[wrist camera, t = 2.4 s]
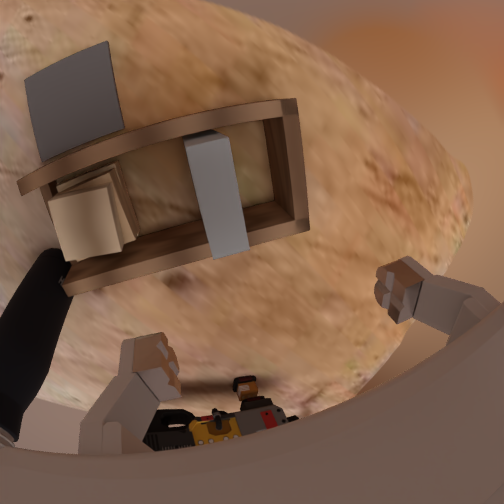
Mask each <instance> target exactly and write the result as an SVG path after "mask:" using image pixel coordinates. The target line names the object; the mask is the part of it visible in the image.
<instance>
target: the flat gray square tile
mask: <svg viewBox="0 0 504 504" xmlns="http://www.w3.org/2000/svg"><path fill="white" fill-rule="evenodd" d="M24 81H25V88H26V94H27V100H28V106H29V111H30V116H31V121H32V126H33V130H34V135H35V139H36V143H37V147H38V150H39V154H40V158H41V161H42V162H44V161H46V160H48V159H50V158H52V157H54V156H56V155H58V154H61V153H63V152H65V151H67V150H70V149H72V148H74V147H76V146H79V145H81V144H84V143H86V142H89V141H91V140H94V139H96V138H99V137H102V136H104V135H107V134H110V133H113V132H115V131H118V130H121V129H124V128H125V126H124V122H123V118H122V113H121V109H120V104H119V99H118V94H117V89H116V84H115V79H114V74H113V68H112V62H111V56H110V49H109V43H108V41H105V42H102V43H99V44H97V45H94V46H92V47H89V48H87V49H84V50H82V51H80V52H77V53H75V54H73V55H71V56H68V57H66V58H64V59H62V60H60V61H58V62H56V63H54V64H52V65H50V66H48V67H46V68H44V69H42V70H41V71H39V72H37V73H35V74H33V75H32V76H30V77H28V78H27V79H25V80H24Z"/></svg>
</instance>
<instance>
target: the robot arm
mask: <svg viewBox="0 0 504 504" xmlns="http://www.w3.org/2000/svg"><path fill="white" fill-rule="evenodd" d="M376 277H377V278H378V281H377V282H376V284H375V287H374V294H375V298H376V300H377V302H378V304H379V305H380V306H381V307H383V308H386V309H388V315H389V316H390V317H391V318H392V319H393V320H394V322H395V323H396V324H399V323H401V322H403V321H406V320H408V319H410V318H412V317H413V318H414V319H416V320H418V321H421V322H423V323H425V324H427V325H429V326H431V327H433V328H436V329H437V330H440V331H442V332H444V333H446V334H448V335H450V336H449V338H448V340H447V342H446V346H445V347H444V348H442V349H441V350H439V351H438V352H436V353H435V354H433V355H432V356H430V357H428V358H427V359H425V360H423V361H422V362H420V363H418V364H417V365H415V366H414V367H412V368H410V369H408V370H407V371H405V372H403V373H401V374H399V375H397V376H396V377H394V378H392V379H390V380H388V381H386V382H384V383H382V384H380V385H378V386H376V387H374V388H372V389H370V390H368V391H366V392H364V393H362V394H360V395H358V396H355V397H353V398H351V399H349V400H347V401H344V402H342V403H340V404H337V405H335V406H332V407H330V408H327V409H325V410H322V411H320V412H317V413H315V414H312V415H309V416H307V417H304V418H301V419H298V420H295V421H292V422H289V423H286V424H283V425H280V426H277V427H274V428H270V429H267V430H264V431H260V432H256V433H253V434H249V435H245V436H241V437H237V438H233V439H229V440H224V441H219V442H215V443H210V444H204V445H199V446H193V447H187V448H180V449H173V450H165V451H156V452H155V451H153V450H152V449H151V448H150V447H148V446H147V445H146V444H144V443H143V442H142V440H143V438H144V436H145V434H146V432H147V430H148V427H149V425H150V423H151V421H152V419H153V417H154V415H155V413H156V410H157V408H158V406H159V404H160V402H161V401H166V400H171V399H175V398H180V397H182V394H181V384H180V381H179V379H178V377H177V375H178V373H179V365H178V361H177V357H176V355H175V352H174V350H173V348H172V347H170V346H168V339H167V337H166V336H165V334H164V333H163V332H160V333H155V334H150V335H145V336H140V337H136V338H131V339H126V340H124V341H123V342H122V346H121V354H120V363H119V373H118V376H115V377H114V378H113V379H112V381H111V382H110V383H109V385H108V386H107V387H106V389H105V390H104V391H103V393H102V394H101V395H100V397H99V398H98V399H97V401H96V402H95V404H94V405H93V406H92V408H91V409H90V410H89V412H88V413H87V415H86V416H85V417H84V419H83V420H82V422H81V424H80V434H79V448H78V454H65V453H53V452H43V451H35V450H27V449H22V448H16V447H10V446H5V447H2V448H1V449H0V504H504V302H503V303H500V302H498V301H497V300H496V299H495V298H494V297H493V296H492V295H491V294H489V293H488V292H487V291H486V290H485V289H484V288H482V287H478V286H475V285H471V284H468V283H465V282H461V281H458V280H454V279H451V278H447V277H443V276H440V275H433V274H431V273H430V272H429V271H428V270H427V269H425V268H424V267H423V266H422V265H420V264H419V263H418V262H417V261H415V260H414V259H413V258H412V257H409V256H406V257H403V258H401V259H398V260H396V261H394V262H391V263H388V264H386V265H383V266H381V267H378V269H377V271H376Z"/></svg>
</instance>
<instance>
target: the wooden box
mask: <svg viewBox="0 0 504 504" xmlns="http://www.w3.org/2000/svg"><path fill="white" fill-rule="evenodd" d="M262 119H263V123H264V130H265V136H266V143H267V149H268V156H269V163H270V170H271V177H272V184H273V191H274V199H275V201H272V202H268V203H264V204H260V205H256V206H252V207H248V208H244V209H242V211H243V216H244V221H245V227H246V232H247V237H248V243H249V247H250V246H254V245H257V244H261V243H265V242H269V241H272V240H276V239H280V238H283V237H287V236H291V235H294V234H298V233H302V232H306V231H309V230H310V224H309V210H308V198H307V186H306V175H305V165H304V156H303V147H302V138H301V130H300V122H299V114H298V107H297V100H296V98H291V99H276V100H267V101H260V102H253V103H246V104H240V105H234V106H229V107H223V108H218V109H213V110H208V111H204V112H199V113H195V114H190V115H186V116H182V117H178V118H174V119H170V120H167V121H163V122H159V123H156V124H152V125H149V126H146V127H142V128H139V129H136V130H133V131H130V132H127V133H124V134H121V135H118V136H115V137H112V138H109V139H107V140H104V141H101V142H99V143H96V144H93V145H91V146H88V147H86V148H83V149H81V150H79V151H76V152H74V153H71V154H69V155H67V156H65V157H62V158H60V159H58V160H56V161H54V162H51V163H49V164H47V165H45V166H43V167H41V168H39V169H37V170H36V171H34V172H32V173H30V174H28V175H27V176H25V177H23V178H21V179H20V180H18V181H17V184H18V187H19V190H20V193H21V196H23V195H25V194H27V193H29V192H31V191H33V190H35V189H37V188H39V187H40V190H41V193H42V196H43V199H44V202H45V204H46V207H47V210H48V212H49V215H50V217H51V220H52V216H51V212H50V208H49V204H48V201H49V200H50V199H51V198H52V197H54V196H55V195H56V194H57V193H58V190H57V188H56V186H57V183H56V179H58V178H61V177H63V176H65V175H68V174H70V173H72V172H75V171H77V170H80V169H82V168H85V167H87V166H90V165H92V164H95V163H98V162H100V161H103V160H106V159H108V158H111V157H114V156H117V155H120V154H123V153H126V152H129V151H132V150H135V149H138V148H141V147H145V146H148V145H151V144H155V143H158V142H162V141H165V140H169V139H172V138H176V137H180V136H184V135H188V134H192V133H196V132H200V131H205V130H209V129H214V128H218V127H223V126H228V125H233V124H238V123H244V122H250V121H255V120H262ZM52 222H53V220H52ZM53 225H54V223H53ZM210 257H213V256H212V253H211V249H210V246H209V242H208V238H207V235H206V231H205V227H204V224H203V220H202V219H201V220H198V221H194V222H190V223H187V224H183V225H179V226H176V227H172V228H169V229H165V230H162V231H158V232H155V233H151V234H148V235H145V236H141V237H138V238H136V240H134V241H131V242H128V243H126V244H124V245H123V248H122V251H121V252H116V253H110V254H104V255H99V256H93V257H88V258H86V259H83V260H81V261H78V262H77V260H71V261H70V263H71V265H72V266H71V268H70V270H69V272H68V274H67V276H66V278H65V280H64V282H63V284H62V287H63V288H64V290H65V292H66V294H67V295H68V297H70V296H74V295H77V294H81V293H84V292H88V291H91V290H95V289H99V288H102V287H106V286H109V285H113V284H116V283H120V282H123V281H127V280H131V279H134V278H138V277H141V276H145V275H148V274H152V273H156V272H159V271H163V270H166V269H170V268H174V267H177V266H181V265H184V264H188V263H192V262H195V261H199V260H203V259H206V258H210Z"/></svg>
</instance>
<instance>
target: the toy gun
mask: <svg viewBox="0 0 504 504" xmlns="http://www.w3.org/2000/svg"><path fill="white" fill-rule="evenodd" d="M255 381H256V377H255V376H245V377H239V378H236V379H234V385H233V391H234V392H237V395H238V398H239V400H240V401H242V403H241V407H240V411H239V412H233V413H227V412H225V411H218V410H217V409H216V408H214V409H212V414H213V416H212V415H210V416H202V417H195V416H194V415H193V414H192V413H190V412H188V411H186V410H184V409H162V410H156V413H155V415H154V417H153V419H152V421H151V423H150V425H149V427H148V430H147V432H146V434H145V436H144V438H143V440H142V442H143V443H144V444H146V445H147V446H148V447H150V448H151V449H152V450H153V451H155V452H156V451H165V450H173V449H180V448H187V447H193V446H199V445H204V444H210V443H215V442H219V441H224V440H229V439H233V438H237V437H241V436H245V435H249V434H253V433H256V432H260V431H264V430H267V429H270V428H274V427H277V426H280V425H283V424H286V423H289V422H292V421H295V420H298V419H299V418H298V417H297V416H296V415H294V416H291V417H287V418H286V416H285V414H284V411H283V409H282V408H280V407H278V406H276V405H273V403H272V400H271V398H264V396H257V394H258V388H257V386H256V383H255ZM172 424H184V425H185V426H180V427H170V428H169V427H168V425H172Z"/></svg>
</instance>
